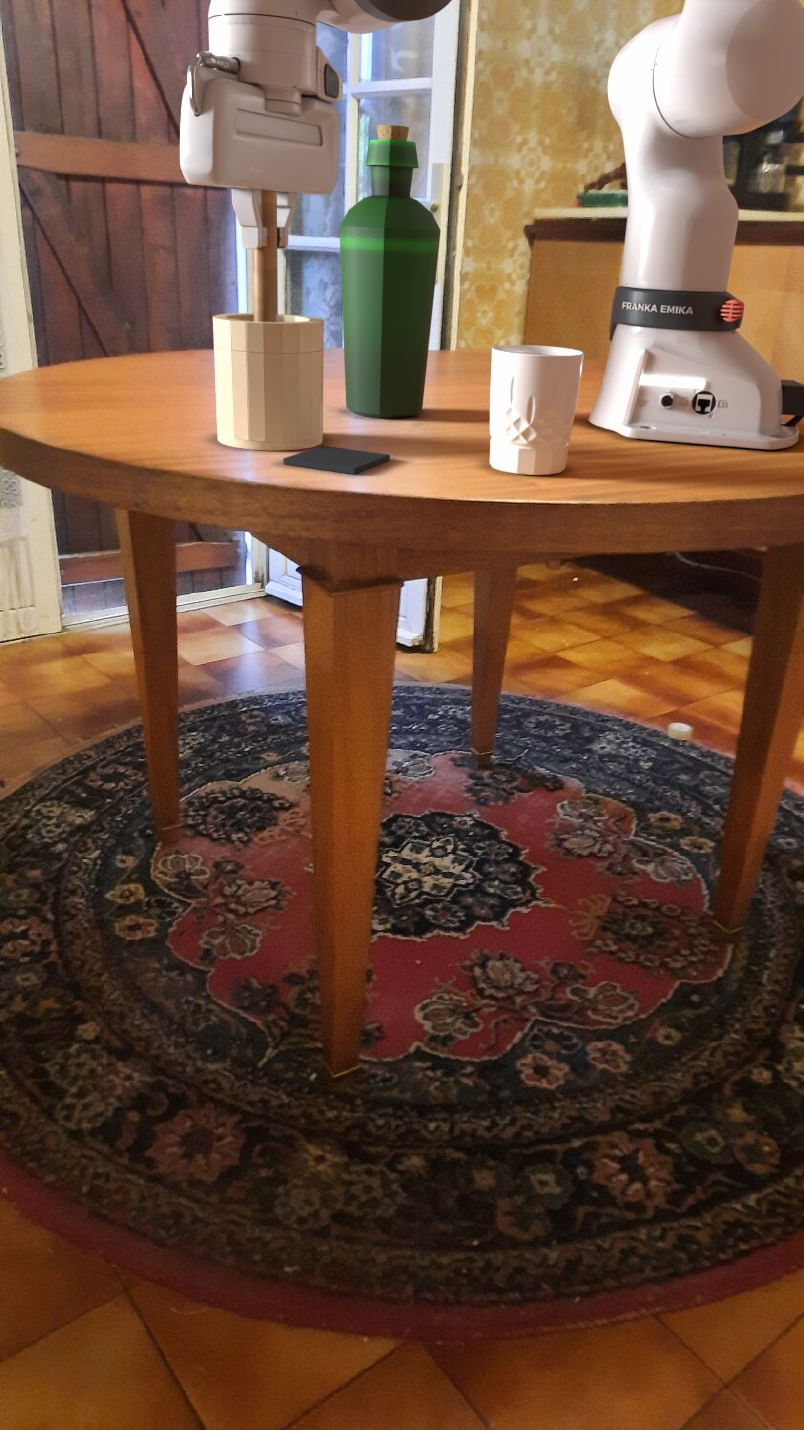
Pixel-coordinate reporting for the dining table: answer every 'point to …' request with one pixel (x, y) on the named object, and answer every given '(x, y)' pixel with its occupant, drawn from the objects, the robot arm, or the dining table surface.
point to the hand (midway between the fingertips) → (265, 249)
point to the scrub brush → (266, 263)
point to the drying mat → (337, 459)
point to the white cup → (532, 407)
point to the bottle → (388, 284)
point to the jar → (269, 381)
